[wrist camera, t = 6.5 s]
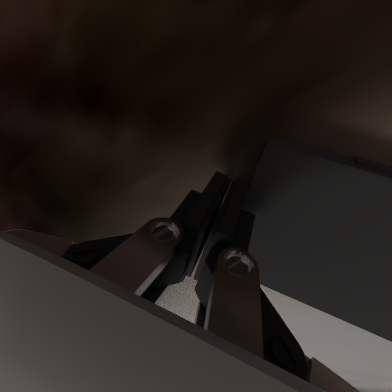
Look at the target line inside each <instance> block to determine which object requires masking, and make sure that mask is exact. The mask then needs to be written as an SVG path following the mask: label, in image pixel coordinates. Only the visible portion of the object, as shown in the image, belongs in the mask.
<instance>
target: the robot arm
mask: <svg viewBox="0 0 392 392" xmlns="http://www.w3.org/2000/svg"><path fill="white" fill-rule="evenodd" d="M226 177H227V175H225V174H222V173H219V172H216V173H215V174H214V176H213V177H212V179H211V180H210V182H209V183H208V185H207V186H206V188H205V189H204V191H203V192H202V193H199V192H197V191H194V190H191V191H190V192H189V194H188V195H187V196H186V198H185V199H184V200H183V202H182V203H181V204H180V205H179V207H178V208H177V209H176V211H175V212H174V213H173V215H172V216H171V217H170V218H164V217H162V218H155V219H152V220H150V221H149V222H147V223H146V224H145V225H144V226H142V227H141V228H140V229H139V230H137V231H136V232H135V233H134V234H128V235H122V236H116V237H110V238H104V239H98V240H92V241H86V242H82V243H79V244H74V241H72V240H68V239H63V238H59V237H54V236H50V235H46V234H41V233H37V232H32V231H28V230H21V229H16V230H9V231H7V232H4V231H1V230H0V392H360V391H359V390H357V389H356V388H355V387H353V386H352V385H351V384H349V383H348V382H346V381H345V380H344V379H342V378H341V377H340V376H338V375H337V374H336V373H334V372H333V371H332V370H330V369H329V368H327V367H326V366H325V365H323V364H322V363H321V362H319V361H318V360H317V359H315V358H314V357H312V358H311V359H310V358H308V357H307V356H306V355H304V352H303V350H302V349H301V347H300V345H299V343H298V342H297V340H296V339H295V337H294V336H293V334H292V333H291V332H290V330H289V329H288V327H287V326H286V324H285V323H284V321H283V320H282V318H281V317H280V315H279V314H278V312H277V311H276V310H275V308H274V307H273V305H272V304H271V302H270V301H269V299H268V298H267V296H266V295H265V293H264V292H263V291H262V289H261V288H260V276H259V267H258V264H257V262H256V260H255V258H254V257H253V256H252V255H251V254H250V253H248V249H249V244H250V239H251V234H252V230H253V225H254V220H255V214H253V213H251V212H248V211H245V210H243V209H241V208H242V205H243V202H244V199H245V196H246V193H247V189H248V186H249V183H247V182H244V181H241V180H238V182H235V181H233V182H232V185H231V187H230V189H229V191H228V193H227V195H226V198H225V200H224V202H223V204H222V201H223V198H224V196H225V193H226V190H227V187H228V184H229V181H230V179H227V178H226ZM221 204H222V206H221ZM220 207H221V208H220ZM219 210H220V211H219ZM218 212H219V213H218ZM206 241H207V242H206ZM205 243H206V244H205ZM204 246H205V247H204ZM203 248H204V250H203ZM202 250H203V253H202V256H201V259H200V262H199V265H198V267H197V270H196V273H195V276H194V279H195V280H197V284H196V287H195V291H196V293H197V296H198V298H199V300H200V301H199V303H198V307H197V312H196V317H195V322H194V323H192V322H190V321H188V320H186V319H184V318H182V317H180V316H178V315H176V314H174V313H172V312H170V311H168V310H166V309H164V308H162V307H160V306H158V304H159V302H160V301H161V300H162V298H163V297H164V296H165V294H166V293H167V292H168V290H169V288H170V286H171V285H173V284H176V283H179V282H180V281H181V282H183V280H184V278H185V276H189V277H190V276H191V274H192V272H193V270H194V267H195V265H196V263H197V261H198V259H199V256H200V254H201V252H202Z"/></svg>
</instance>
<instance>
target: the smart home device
mask: <svg viewBox="0 0 392 392" xmlns="http://www.w3.org/2000/svg"><path fill="white" fill-rule="evenodd" d="M241 209H243V210H245V211H248V212H251V213H253V214H255V220H254V225H253V230H252V234H251V239H250V244H249V249H248V253H250V254H251V255H252V256H253V257H254V258H255V260H256V262H257V264H258V267H259V276H260V284H261V285H264V286H266V287H268V288H270V289H273V290H275V291H277V292H280V293H282V294H284V295H286V296H289V297H291V298H293V299H296V300H298V301H300V302H302V303H305V304H307V305H309V306H312V307H314V308H316V309H318V310H321V311H323V312H325V313H328V314H330V315H332V316H334V317H337V318H339V319H341V320H344V321H346V322H348V323H350V324H353V325H355V326H357V327H360V328H362V329H364V330H366V331H369V332H371V333H373V334H376V335H378V336H380V337H382V338H385V339H387V340H389V341H392V167H389V166H386V165H382V164H379V163H375V162H372V161H368V160H365V159H362V158H358V157H355V159H352V158H349V157H345V156H342V155H338V154H335V153H332V152H328V151H325V150H321V149H318V148H314V147H311V146H308V145H304V144H301V143H297V142H293V141H287V140H274V141H270V142H268V143H267V144H266V145H265V148H264V151H263V153H262V156H261V158H260V161H259V163H258V166H257V169H256V171H255V174H254V176H253V179H252V181H251V184H250V187H249V189H248V192H247V194H246V197H245V199H244V202H243V205H242V208H241Z"/></svg>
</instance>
